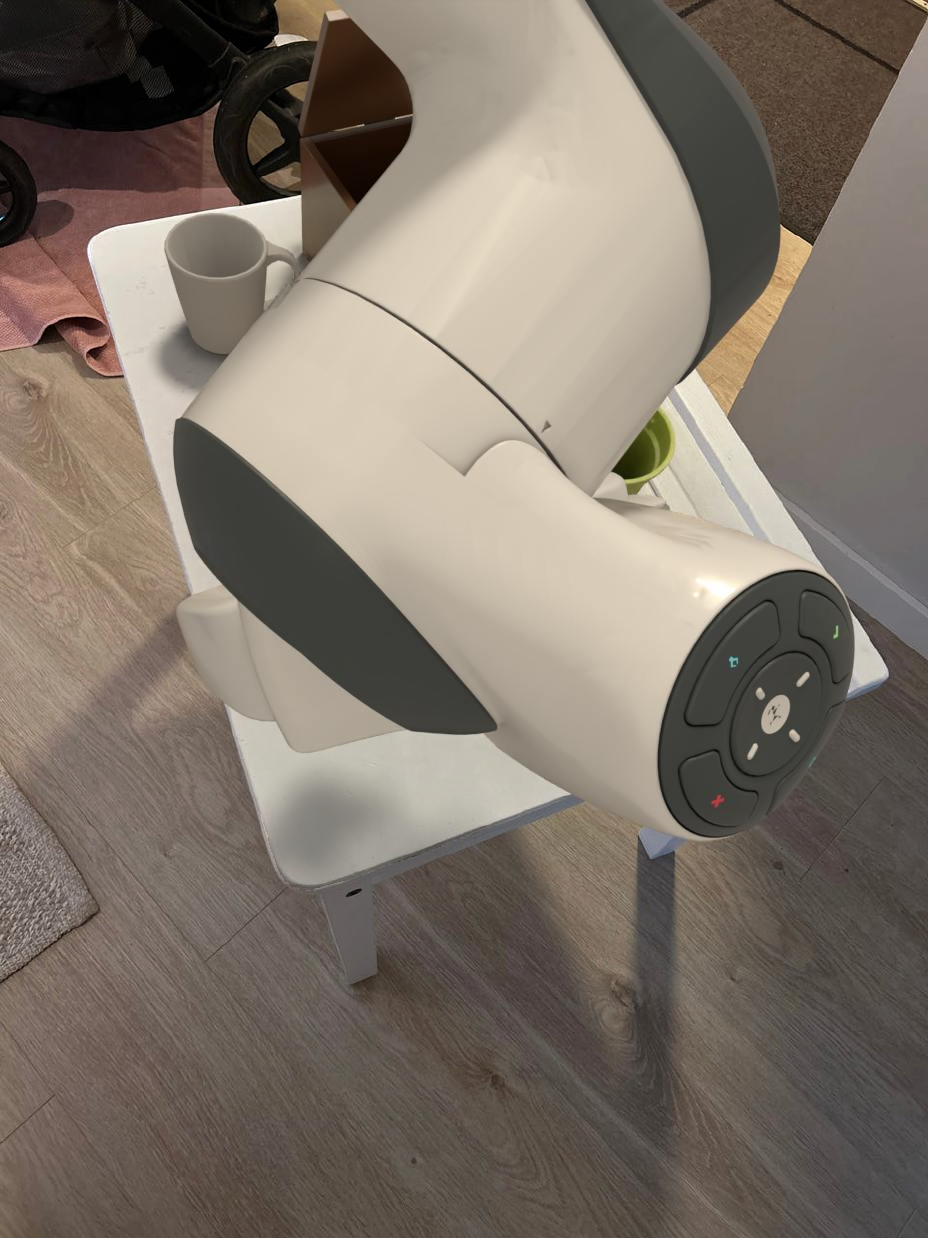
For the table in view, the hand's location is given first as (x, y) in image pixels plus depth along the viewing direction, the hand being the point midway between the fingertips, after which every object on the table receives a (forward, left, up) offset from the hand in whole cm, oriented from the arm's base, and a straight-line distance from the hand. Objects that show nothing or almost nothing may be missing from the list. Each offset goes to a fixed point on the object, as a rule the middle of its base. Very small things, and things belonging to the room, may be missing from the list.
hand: (357, 547), depth 49 cm
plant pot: (+24, +7, -18) cm, 30 cm away
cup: (+6, +34, -18) cm, 39 cm away
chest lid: (+21, +38, -1) cm, 44 cm away
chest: (+21, +35, -18) cm, 45 cm away
